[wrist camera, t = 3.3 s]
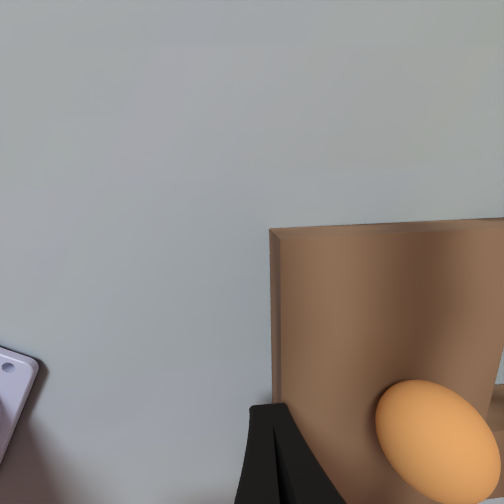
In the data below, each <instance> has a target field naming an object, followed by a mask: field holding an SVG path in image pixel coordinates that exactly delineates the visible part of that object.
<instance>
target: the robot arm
mask: <svg viewBox="0 0 504 504" xmlns="http://www.w3.org/2000/svg"><path fill="white" fill-rule="evenodd" d="M11 364H13V365H14V366H13V365H11ZM38 369H39V366H38V363H37V362H36V361H35V360H34V359H32V358H30V357H27V356H24V355H21V354H18V353H15V352H13V351H10V350H7V349H4V348H1V347H0V464H1V461H2V459H3V456H4V454H5V451H6V449H7V446H8V444H9V442H10V439H11V437H12V434H13V432H14V429H15V427H16V424H17V422H18V419H19V417H20V414H21V412H22V409H23V407H24V404H25V402H26V400H27V397H28V395H29V392H30V390H31V387H32V385H33V382H34V380H35V377H36V375H37V372H38ZM249 412H250V419H249V432H248V439H247V446H246V451H245V457H244V462H243V468H242V472H241V477H240V481H239V485H238V489H237V494H236V498H235V502H234V504H347V503H346V502H345V500H344V499H343V498H342V496H341V495H340V493H339V492H338V490H337V489H336V488H335V486H334V485H333V483H332V482H331V480H330V479H329V477H328V476H327V474H326V473H325V471H324V470H323V468H322V467H321V465H320V464H319V462H318V460H317V459H316V457H315V456H314V454H313V452H312V451H311V449H310V448H309V446H308V444H307V442H306V441H305V439H304V437H303V436H302V434H301V432H300V430H299V428H298V427H297V425H296V423H295V421H294V419H293V417H292V415H291V413H290V411H289V409H288V406H287V405H286V404H285V403H274V404H264V405H253V406H251V407H250V408H249Z"/></svg>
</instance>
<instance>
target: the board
mask: <svg viewBox="0 0 504 504" xmlns="http://www.w3.org/2000/svg"><path fill="white" fill-rule="evenodd" d="M269 239H270V294H271V349H272V404H274V403H285V404H286V405H287V406H288V409H289V411H290V413H291V415H292V417H293V419H294V421H295V423H296V425H297V427H298V428H299V430H300V432H301V434H302V436H303V437H304V439H305V441H306V442H307V444H308V446H309V448H310V449H311V451H312V452H313V454H314V456H315V457H316V459H317V460H318V462H319V464H320V465H321V467H322V468H323V470H324V471H325V473H326V474H327V476H328V477H329V479H330V480H331V482H332V483H333V485H334V486H335V488H336V489H337V490H338V492H339V493H340V495H341V496H342V498H343V499H344V500H345V502H346V503H347V504H443V503H440V502H437V501H434V500H432V499H430V498H428V497H426V496H425V495H423V494H421V493H420V492H418V491H416V490H415V489H414V488H413V487H411V486H410V485H409V484H408V483H407V482H406V481H405V480H404V479H403V478H402V477H401V476H400V475H399V474H398V473H397V472H396V471H395V469H394V468H393V467H392V465H391V464H390V462H389V461H388V459H387V458H386V456H385V454H384V452H383V450H382V448H381V445H380V442H379V439H378V436H377V432H376V423H375V418H376V410H377V406H378V403H379V401H380V399H381V397H382V396H383V394H384V393H385V392H386V391H387V390H388V389H389V388H390V387H391V386H393V385H395V384H397V383H399V382H403V381H406V380H425V381H430V382H433V383H436V384H439V385H442V386H444V387H446V388H448V389H450V390H452V391H454V392H455V393H457V394H458V395H460V396H461V397H462V398H463V399H465V400H466V401H467V402H468V403H470V404H471V405H472V406H473V407H474V408H475V409H476V410H477V412H478V413H479V414H480V415H481V416H482V418H483V419H484V420H485V422H486V423H487V425H488V426H489V428H490V430H491V432H492V434H493V436H494V438H495V440H496V443H497V446H498V449H499V454H500V460H501V472H500V477H499V481H498V484H497V486H496V488H495V489H494V491H493V492H492V493H491V495H490V496H489V497H487V498H486V499H492V498H499V497H504V384H500V385H494V384H495V380H496V376H497V372H498V368H499V364H500V360H501V356H502V351H503V347H504V217H503V218H482V219H461V220H440V221H419V222H398V223H377V224H356V225H334V226H313V227H292V228H271V229H269Z"/></svg>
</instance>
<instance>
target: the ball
mask: <svg viewBox="0 0 504 504" xmlns="http://www.w3.org/2000/svg"><path fill="white" fill-rule="evenodd" d="M375 423H376V432H377V436H378V439H379V442H380V445H381V448H382V450H383V452H384V454H385V456H386V458H387V459H388V461H389V462H390V464H391V465H392V467H393V468H394V469H395V471H396V472H397V473H398V474H399V475H400V476H401V477H402V478H403V479H404V480H405V481H406V482H407V483H408V484H409V485H410V486H411V487H413V488H414V489H415V490H416V491H418V492H420V493H421V494H423V495H425V496H426V497H428V498H430V499H432V500H434V501H437V502H440V503H443V504H477V503H480V502H482V501H483V500H485V499H486V498H487V497H489V496H490V495H491V493H492V492H493V491H494V489H495V488H496V486H497V484H498V481H499V477H500V472H501V460H500V454H499V449H498V446H497V443H496V440H495V438H494V436H493V434H492V432H491V430H490V428H489V426H488V425H487V423H486V422H485V420H484V419H483V418H482V416H481V415H480V414H479V413H478V412H477V410H476V409H475V408H474V407H473V406H472V405H471V404H470V403H468V402H467V401H466V400H465V399H463V398H462V397H461V396H460V395H458V394H457V393H455V392H454V391H452V390H450V389H448V388H446V387H444V386H442V385H439V384H436V383H433V382H430V381H425V380H406V381H403V382H399V383H397V384H395V385H393V386H391V387H390V388H389V389H388V390H387V391H386V392H385V393H384V394H383V396H382V397H381V399H380V401H379V403H378V406H377V410H376V418H375Z"/></svg>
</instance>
